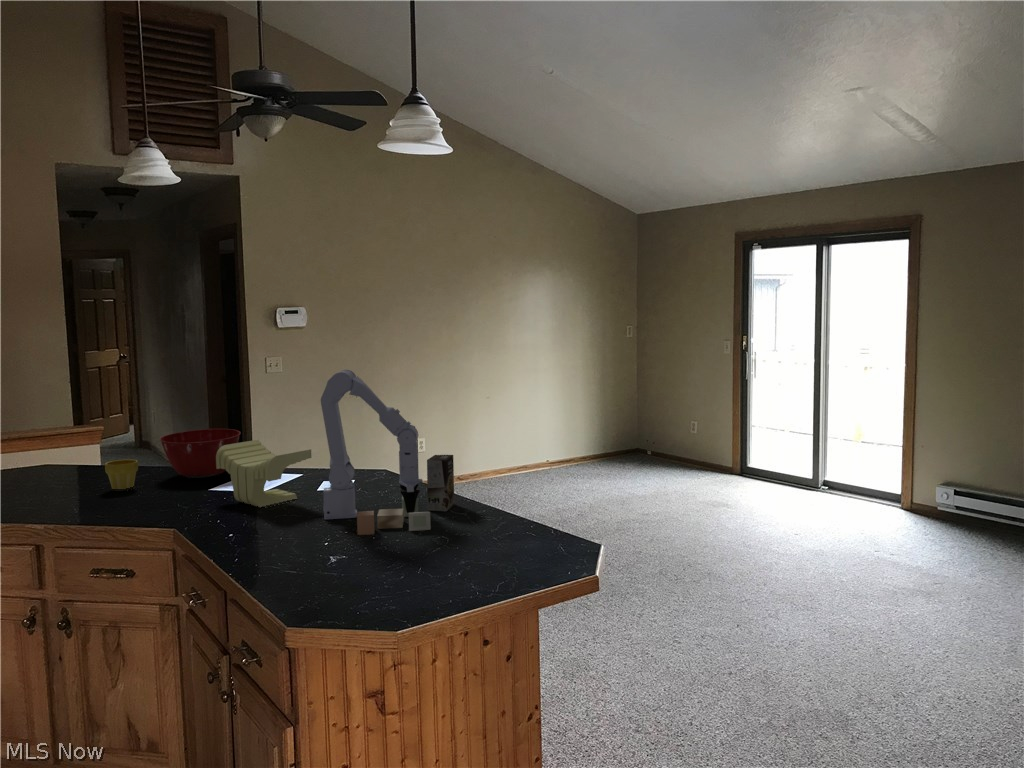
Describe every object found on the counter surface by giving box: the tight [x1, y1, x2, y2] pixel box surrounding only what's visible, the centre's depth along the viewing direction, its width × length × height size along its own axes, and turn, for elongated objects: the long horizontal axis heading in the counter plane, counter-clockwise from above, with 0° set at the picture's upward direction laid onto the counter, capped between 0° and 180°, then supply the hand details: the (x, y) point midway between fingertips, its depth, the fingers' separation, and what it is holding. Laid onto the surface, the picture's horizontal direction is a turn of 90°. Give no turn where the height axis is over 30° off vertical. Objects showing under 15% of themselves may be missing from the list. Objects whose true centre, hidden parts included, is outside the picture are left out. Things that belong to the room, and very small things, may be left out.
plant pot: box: [104, 459, 139, 490], centre depth 278 cm, size 10×10×10 cm
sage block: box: [401, 495, 419, 518], centre depth 241 cm, size 5×5×6 cm
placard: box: [408, 511, 432, 532], centre depth 224 cm, size 6×1×5 cm, turn 100°
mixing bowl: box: [159, 428, 241, 477], centre depth 299 cm, size 28×28×16 cm
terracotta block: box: [356, 510, 375, 536], centre depth 223 cm, size 5×5×6 cm
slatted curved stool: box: [216, 439, 312, 508], centre depth 258 cm, size 30×16×18 cm, turn 50°
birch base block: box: [376, 508, 405, 530], centre depth 230 cm, size 7×7×4 cm
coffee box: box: [426, 454, 455, 512], centre depth 248 cm, size 9×6×16 cm
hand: (410, 509), depth 241 cm, fingers open, 6 cm apart
